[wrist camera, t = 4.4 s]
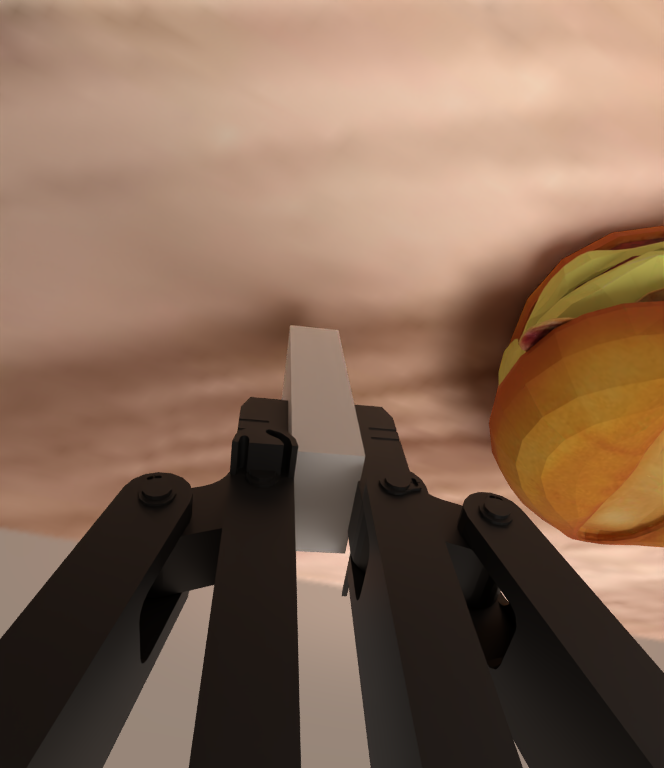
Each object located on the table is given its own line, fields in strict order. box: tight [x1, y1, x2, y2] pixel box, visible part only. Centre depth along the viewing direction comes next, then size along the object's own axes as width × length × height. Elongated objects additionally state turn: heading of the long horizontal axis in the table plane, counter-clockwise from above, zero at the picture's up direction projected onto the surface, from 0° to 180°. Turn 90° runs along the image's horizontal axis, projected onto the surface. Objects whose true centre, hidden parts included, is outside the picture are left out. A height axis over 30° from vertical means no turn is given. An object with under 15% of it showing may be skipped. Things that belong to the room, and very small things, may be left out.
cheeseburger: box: [489, 226, 664, 547], centre depth 19 cm, size 10×11×10 cm
